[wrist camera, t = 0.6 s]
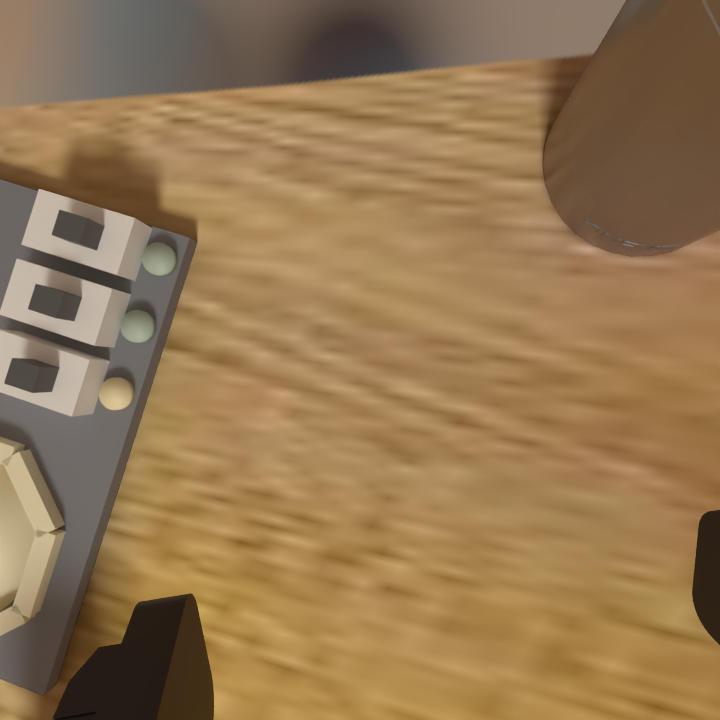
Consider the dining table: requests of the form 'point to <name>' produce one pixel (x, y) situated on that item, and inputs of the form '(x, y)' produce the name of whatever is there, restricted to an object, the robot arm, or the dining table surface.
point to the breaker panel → (76, 443)
